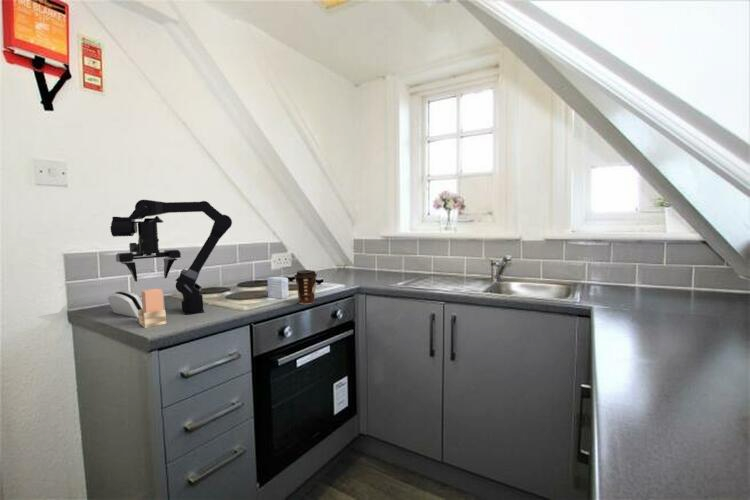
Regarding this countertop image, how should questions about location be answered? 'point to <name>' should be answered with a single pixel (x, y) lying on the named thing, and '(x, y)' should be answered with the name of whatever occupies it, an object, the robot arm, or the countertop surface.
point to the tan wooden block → (152, 318)
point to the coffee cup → (306, 286)
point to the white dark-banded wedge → (125, 303)
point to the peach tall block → (152, 300)
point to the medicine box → (278, 287)
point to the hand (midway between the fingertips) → (151, 279)
